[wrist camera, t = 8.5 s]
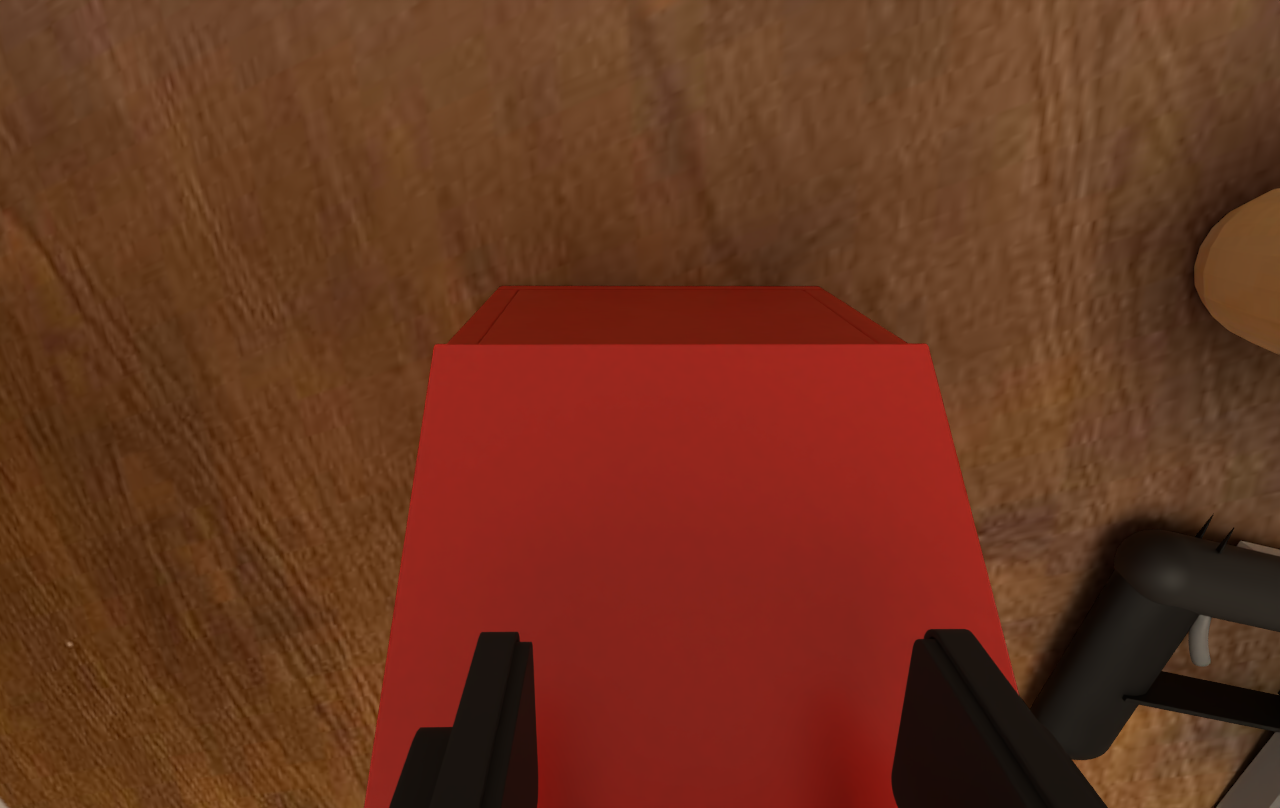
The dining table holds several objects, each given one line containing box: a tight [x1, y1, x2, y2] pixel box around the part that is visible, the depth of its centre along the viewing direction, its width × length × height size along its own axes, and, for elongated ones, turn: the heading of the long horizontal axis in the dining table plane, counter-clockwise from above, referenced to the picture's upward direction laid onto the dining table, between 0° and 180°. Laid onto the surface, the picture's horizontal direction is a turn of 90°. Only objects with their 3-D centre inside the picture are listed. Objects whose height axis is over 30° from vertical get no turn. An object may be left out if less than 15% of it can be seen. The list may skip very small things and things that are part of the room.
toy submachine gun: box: [1030, 515, 1280, 808], centre depth 31 cm, size 3×20×16 cm
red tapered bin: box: [447, 286, 908, 344], centre depth 24 cm, size 13×12×9 cm
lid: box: [364, 344, 1019, 808], centre depth 11 cm, size 13×12×6 cm
